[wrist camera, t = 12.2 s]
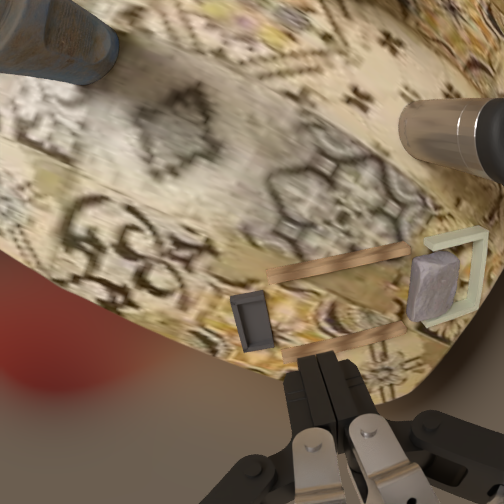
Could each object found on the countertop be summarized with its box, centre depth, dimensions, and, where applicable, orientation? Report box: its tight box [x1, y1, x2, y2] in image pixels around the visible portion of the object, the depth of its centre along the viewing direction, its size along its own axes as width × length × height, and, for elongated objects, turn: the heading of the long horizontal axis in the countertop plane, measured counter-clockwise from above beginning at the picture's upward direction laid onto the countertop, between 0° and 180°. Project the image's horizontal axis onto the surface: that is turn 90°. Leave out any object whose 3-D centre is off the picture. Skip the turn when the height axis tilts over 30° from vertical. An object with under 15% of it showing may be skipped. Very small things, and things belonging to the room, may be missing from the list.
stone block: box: [406, 251, 460, 322], centre depth 49 cm, size 12×5×10 cm
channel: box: [266, 241, 411, 364], centre depth 49 cm, size 22×16×2 cm
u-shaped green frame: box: [421, 225, 489, 328], centre depth 48 cm, size 13×16×3 cm
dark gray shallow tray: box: [230, 290, 274, 353], centre depth 50 cm, size 5×10×2 cm, turn 11°
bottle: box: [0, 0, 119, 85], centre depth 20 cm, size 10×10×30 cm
